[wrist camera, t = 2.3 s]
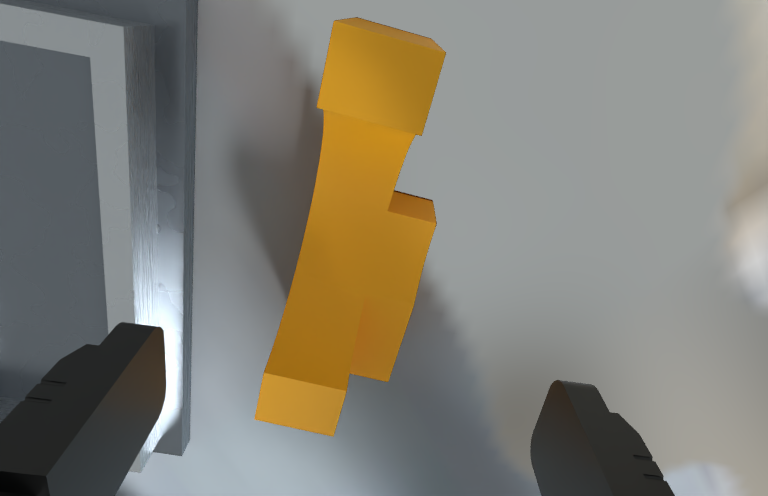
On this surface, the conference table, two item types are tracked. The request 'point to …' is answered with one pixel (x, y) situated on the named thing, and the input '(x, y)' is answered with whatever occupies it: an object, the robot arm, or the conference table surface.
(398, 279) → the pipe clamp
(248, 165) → the conference table surface
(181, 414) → the grey metal tray
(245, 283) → the conference table surface
